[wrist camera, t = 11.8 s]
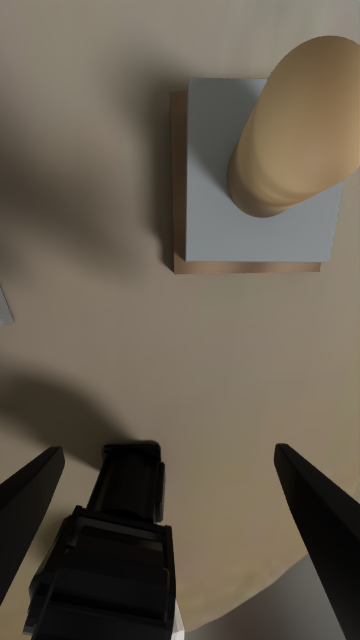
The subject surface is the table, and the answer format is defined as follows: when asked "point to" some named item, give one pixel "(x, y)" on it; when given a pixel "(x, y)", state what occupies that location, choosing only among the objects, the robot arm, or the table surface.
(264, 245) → the tower top block
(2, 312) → the grey handheld device
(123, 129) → the table surface
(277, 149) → the tan rounded piece
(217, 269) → the tower base block
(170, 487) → the table surface
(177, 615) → the geodesic sphere
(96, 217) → the table surface
